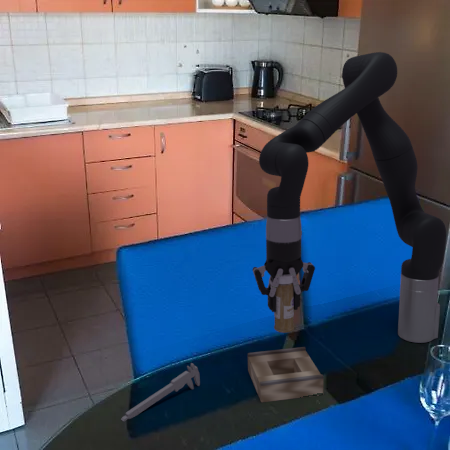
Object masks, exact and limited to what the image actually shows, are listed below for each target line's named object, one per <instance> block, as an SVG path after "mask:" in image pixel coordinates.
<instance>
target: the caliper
mask: <svg viewBox="0 0 450 450" xmlns="http://www.w3.org/2000/svg"><path fill="white" fill-rule="evenodd" d="M186 368H187V370H185V371H183V372H182V373H180V374H179V375H177V377H174V378H172V380H170V382H169V384H167V385H165V386H164V387H163V388H161V389H159V390H158V391H156V392H155V393H153V394H151V395H150V396H148V397H147V398H146V399H144V400H142V401H141V402H140V403H138V404H137V405H135V406H134V407H132V408H130V409H129V410H128V411H126V412H125V415H123V416H122V417H121V418H120V421H122V422H124V423H125V422H126V421H127V420H130V419H133V418H134V417H136V416H138V415H139V414H141V413H142V412H144V411H145V410H147V409H148V408H149V407H151V406H152V405H154V404H155V403H157V402H159V401H160V400H162V399H163V398H165V397H166V396H167V395H169V394H170V393H172V392H178V391H179V390H180V389H182V388H184V386H185V385H187V386H188V388H189V389H191V390H194V389H195V387H194V383H195V385H196V386H197V387H200V385H201V379H200V372H199V368H198V366H196V365H195V364H194V363H192V362H190V366H189V365H187V366H186ZM192 378H193V380H194V383H193V380H192Z"/></svg>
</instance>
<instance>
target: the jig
mask: <svg viewBox="0 0 450 450" xmlns="http://www.w3.org/2000/svg"><path fill="white" fill-rule="evenodd" d="M247 372H248V374H249V376H250V378H251V381H252V384H253V386H254V388H255V391H256V393H257V396H258V399H259V400H260V402H261V403H267V402H276V401H285V400H292V399H300V397H301V398H304V397H303V396H308V395H313V394H317V393H323V394H324V374H321V372H320V371H319V369H318V367H317V365H315V363H314V362H313V360H312V358H311V357H310V355H309V353H308V352H307V351H306V346H299V347H290V348H281V349H273V350H265V351H264V350H263V351H262V350H261V351H255V352H248V353H247Z"/></svg>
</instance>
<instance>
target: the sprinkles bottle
mask: <svg viewBox="0 0 450 450" xmlns="http://www.w3.org/2000/svg"><path fill="white" fill-rule="evenodd" d="M277 279H278V278H277ZM273 281H274V279H273ZM275 297H276V312H273V315H274V325H273V329H274V330H275V331H276V332H277V333H284V334H285V333H291V332H292V331H294V330H295V325H294V316H295V315H294V313H295V310H294V296H293V277H292V276H290V274H287V275H282V276H281V277H280V278H279V285H278V288H277V289H276V292H275Z"/></svg>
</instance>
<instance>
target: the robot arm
mask: <svg viewBox="0 0 450 450" xmlns="http://www.w3.org/2000/svg"><path fill="white" fill-rule="evenodd" d="M397 77H398V65H397V63H396V61H395V59H394V57H393V56H392V55H390V54H389V53H387V52H382V51H379V52H376V51H375V52H371V53H366V54H365V53H364V54H361V55H356V56H353V57H350V58H347V60H346V61H345V63H344V64H343V66H342V73H341V78H342V79H341V80H342V82H343V86H344V87H343V89H341V90H340V91H338V92H337V93H335V94H334V95H332V96H330V97H328V98H326V99H324V100H323V101H322V102H320V103H318V104H317V105H316V106H314V107H313V108H311V110H310V111H308V112H307V114H305V115H304V116H303V117H302V118H301V119H300V120H299V121H298V122H297V123H296V124H295V125H293V126H292V127H290V128H288V129H286V130H284V131H283V132H281V133H279V134H278V135H276V136H274V137H273V138H272V139H270V140H269V141H268V142H267V143H266V144H265V145H264V146H263V147H262V149H261V151H260V153H259V156H258V157H259V158H258V163H259V164H258V165H259V166H260V169H261V170H262V171H263V172H264V173H266V174H267V175H271V176H277V177H280V182H279V186H274V187H272V188H270V189H269V190H268V191H267V194H266V195H267V196H266V214H267V216H266V223H265V224H266V225H265V244H266V246H265V251H266V252H265V253H266V258H265V262H264V265H262V266H259V267H256V266H254V267H252V273H253V277H254V279H255V282H256V284H257V287H258V290H259V292H260V293H261V295H262V296H267V307H268V308H269V310H270V311H271V312H272V313H274V312H276V297H275V292H276V289H277V288H278V285H279V278H280V277H281V276H282V275H287V274H290V276H292V277H293V296H294V311H297V310H298V309H299V308H300V307H301V294H302V293H303V292H308V291H309V289H310V285H311V283H312V279H313V276H314V274H315V270H316V267H315V266H314V264H313V263H312V262H310V261H309V262H303V260H302V235H303V232H302V220H301V196H302V192H303V189H304V186H305V182H306V178H307V175H308V170H309V164H310V163H309V157H308V153H313V152H316V151H317V150H319V148H320V147H322V146H323V145H324V144H325V143H326V142H327V141H328V140H329V139H330V138H331V137H332V136H333V135H334V134H335V133H336V132H337V131H338V130H339V129H340V128H341V127H342V126H343V125H344V124H345V123H347V122H348V121H349V120H350V119H352V118H353V117H354V116H355V115H357V117H358V119H359V121H360V123H361V126H362V129H363V131H364V134H365V136H366V139H367V142H368V144H369V146H370V149H371V153H372V157H373V160H374V162H375V166H376V168H377V171H378V174H379V176H380V179H381V180H382V184H383V186H384V189H385V192H386V196H387V197H388V201H389V204H390V207H391V211H392V215H393V221H394V226H395V229H396V233H397V234H398V237H399V238H400V240H401V241H402V242H403V243H404V244H406V245H407V246H409V247H412V250H411V257H410V258H408V259H405V260H403V262H402V263H401V265H400V267H401V268H400V285H399V286H400V287H399V303H398V305H399V307H398V324H397V335H398V336H399V338H400V339H402V340H405V341H407V342H412V343H419V344H420V343H421V344H423V343H428V342H429V343H430V342H431V341H433V340H435V339H438V338H439V326H440V325H439V324H440V311H441V310H440V309H441V305H440V304H441V303H439V302H438V291H439V280H440V279H439V276H440V270H441V268H442V267H443V263H444V257H445V250H446V242H447V228H446V224H445V223H444V221H443V219H441V218H439V217H437V216H434V215H432V214H429V213H428V212H427V213H426V212H425V211H424V210H423V208H422V206H421V203H420V200H419V197H418V195H417V191H416V181H417V177H418V168H419V167H418V162H417V157H416V154H415V149H414V147H413V144H412V140H411V139H410V138H409V136H408V134H407V133H406V132H405V131H404V129H403V128H402V127H401V126H400V125H399V124H398V123H397V122H396V121H395V120H394V118H392V116H390V115H389V114H388V112H387V111H386V110H385V108H384V107H383V104H382V103H381V101H380V97H381V96H383V95H385V93H387V92H388V91H390V90H391V89H392V88H393V87H394V85H395V84H396V83H395V82H396V80H397ZM301 270H302V271H303V275H302V278H301V282H299V280H298V278H297V277H298V274H299V273H300V271H301ZM266 272H267V273H268V275H269V278H268V284H267V287H266V286H265V283H264V280H263V278H264V276H265V273H266ZM277 278H278V279H277ZM273 279H274V281H273Z"/></svg>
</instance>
